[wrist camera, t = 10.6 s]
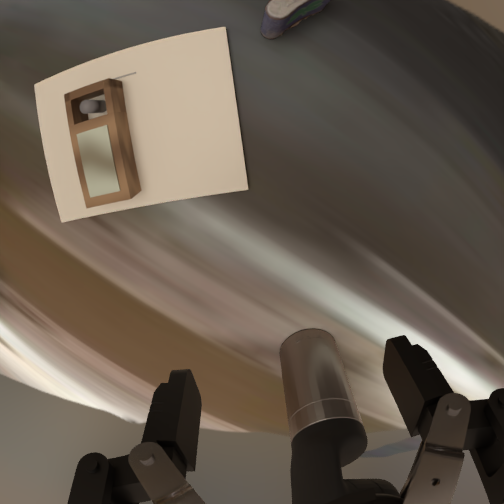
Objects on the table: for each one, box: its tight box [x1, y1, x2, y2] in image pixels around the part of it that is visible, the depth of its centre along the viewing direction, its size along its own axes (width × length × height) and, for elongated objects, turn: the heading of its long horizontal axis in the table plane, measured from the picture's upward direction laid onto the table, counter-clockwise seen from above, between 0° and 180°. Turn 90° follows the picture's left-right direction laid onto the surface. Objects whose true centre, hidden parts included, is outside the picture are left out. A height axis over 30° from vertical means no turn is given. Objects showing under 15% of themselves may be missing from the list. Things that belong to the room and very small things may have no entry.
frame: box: [64, 78, 141, 208], centre depth 33 cm, size 14×6×4 cm, turn 7°
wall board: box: [34, 27, 248, 222], centre depth 32 cm, size 20×26×6 cm
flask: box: [261, 0, 330, 39], centre depth 25 cm, size 9×3×11 cm, turn 128°
